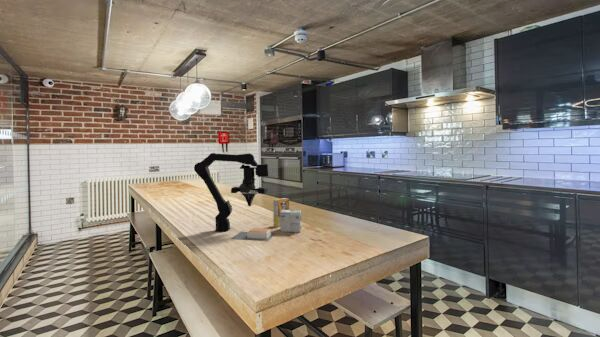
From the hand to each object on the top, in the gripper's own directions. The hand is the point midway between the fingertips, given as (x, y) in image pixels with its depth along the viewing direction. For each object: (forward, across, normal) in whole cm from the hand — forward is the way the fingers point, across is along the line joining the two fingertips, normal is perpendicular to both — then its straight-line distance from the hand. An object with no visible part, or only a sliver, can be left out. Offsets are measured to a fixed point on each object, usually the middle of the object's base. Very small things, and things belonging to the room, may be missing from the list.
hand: (249, 206), depth 174 cm
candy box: (+13, +14, +12) cm, 23 cm away
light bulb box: (+13, +22, +3) cm, 26 cm away
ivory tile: (+11, +4, -12) cm, 17 cm away
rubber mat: (+13, +6, -12) cm, 19 cm away
